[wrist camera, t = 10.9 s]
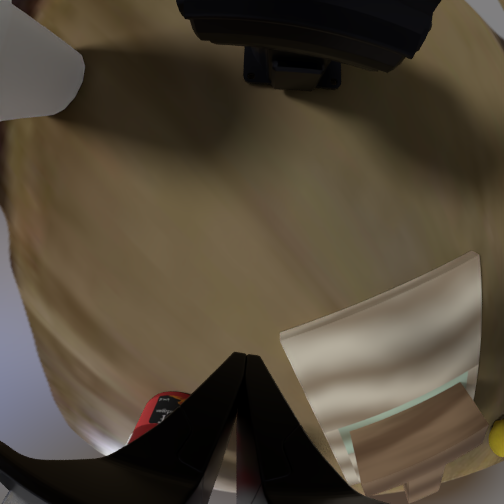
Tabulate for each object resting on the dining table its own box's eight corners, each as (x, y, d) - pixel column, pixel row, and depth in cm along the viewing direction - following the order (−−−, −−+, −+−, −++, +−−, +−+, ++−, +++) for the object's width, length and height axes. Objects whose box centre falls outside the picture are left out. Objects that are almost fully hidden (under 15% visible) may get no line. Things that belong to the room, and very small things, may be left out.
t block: (349, 431, 24) (361, 484, 18) (460, 381, 22) (488, 424, 15) (365, 476, 27) (373, 516, 21) (452, 438, 25) (469, 474, 19)
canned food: (234, 415, 26) (219, 508, 15) (194, 443, 28) (174, 520, 17) (168, 376, 25) (127, 468, 14) (137, 410, 27) (101, 486, 16)
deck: (279, 332, 22) (280, 341, 21) (471, 250, 19) (479, 254, 18) (348, 479, 29) (349, 485, 28) (462, 431, 26) (465, 436, 25)
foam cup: (13, 103, 18) (-88, 100, 5) (64, 23, 15) (-30, -19, 3) (57, 152, 19) (-70, 165, 7) (120, 58, 17) (3, -1, 4)
